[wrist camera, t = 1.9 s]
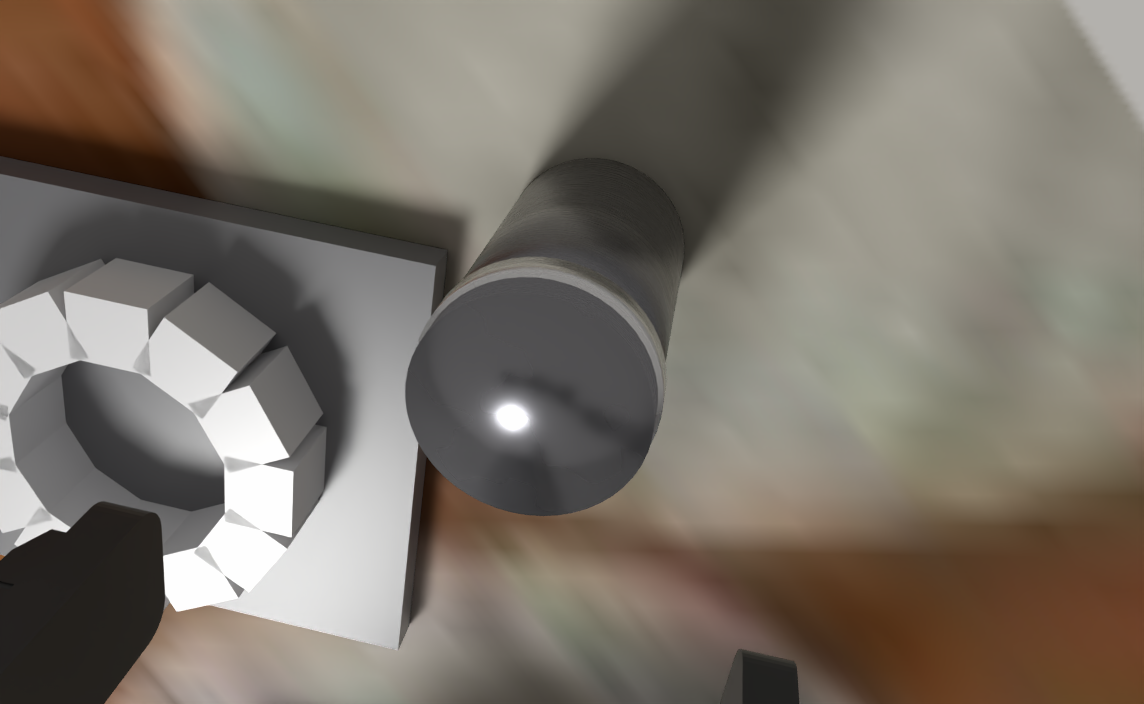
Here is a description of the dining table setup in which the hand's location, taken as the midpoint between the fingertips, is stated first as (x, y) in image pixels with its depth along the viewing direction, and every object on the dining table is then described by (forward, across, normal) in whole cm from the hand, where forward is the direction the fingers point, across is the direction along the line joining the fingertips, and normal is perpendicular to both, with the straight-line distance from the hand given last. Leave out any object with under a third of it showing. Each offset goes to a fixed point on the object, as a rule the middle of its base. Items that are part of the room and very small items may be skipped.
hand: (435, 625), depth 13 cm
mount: (+15, +12, +8) cm, 21 cm away
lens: (+15, 0, 0) cm, 15 cm away
